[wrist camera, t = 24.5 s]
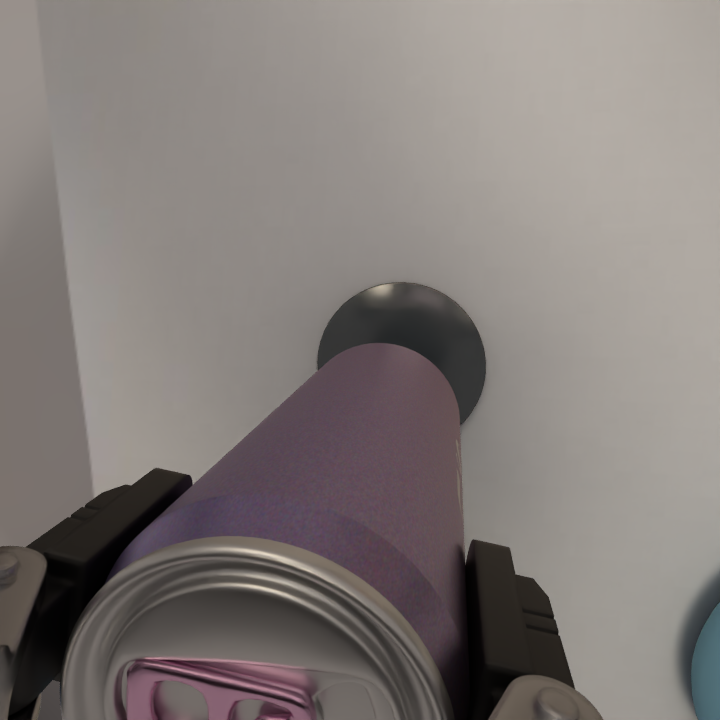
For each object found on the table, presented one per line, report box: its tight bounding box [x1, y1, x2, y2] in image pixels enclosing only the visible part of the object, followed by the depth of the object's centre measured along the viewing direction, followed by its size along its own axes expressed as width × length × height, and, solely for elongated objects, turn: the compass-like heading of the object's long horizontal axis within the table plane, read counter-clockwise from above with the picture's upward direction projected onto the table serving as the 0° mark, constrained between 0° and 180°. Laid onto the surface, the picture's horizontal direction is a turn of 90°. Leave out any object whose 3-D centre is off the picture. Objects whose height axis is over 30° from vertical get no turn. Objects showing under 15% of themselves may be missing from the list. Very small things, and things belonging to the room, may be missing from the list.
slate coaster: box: [317, 282, 486, 425], centre depth 30 cm, size 9×9×1 cm
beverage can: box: [60, 343, 470, 720], centre depth 15 cm, size 6×6×15 cm
